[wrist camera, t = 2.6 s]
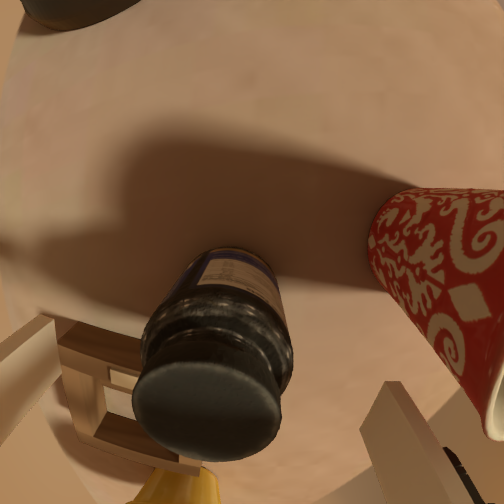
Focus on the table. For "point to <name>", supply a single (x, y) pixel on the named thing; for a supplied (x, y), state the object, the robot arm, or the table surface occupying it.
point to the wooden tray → (93, 399)
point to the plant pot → (179, 488)
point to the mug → (450, 283)
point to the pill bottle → (216, 360)
